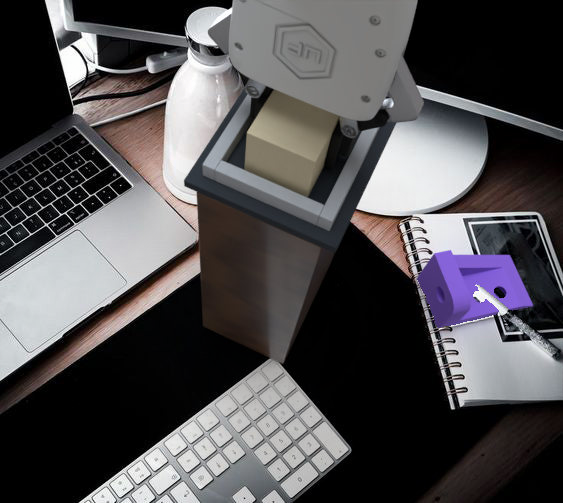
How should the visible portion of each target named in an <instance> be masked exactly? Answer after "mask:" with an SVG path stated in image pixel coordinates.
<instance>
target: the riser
mask: <svg viewBox="0 0 563 503" xmlns="http://www.w3.org/2000/svg"><path fill="white" fill-rule="evenodd" d="M196 208H197V209H196V210H197V228H198V230H197V232H198V248H199V249H198V252H199V269H200V270H199V272H200V289H201V290H200V291H201V292H200V293H201V312H202V314H201V315H202V327H204V328H206V329H207V330H210V331H212V332H214V333H216V334H219V335H221V336H223V337H225V338H226V339H229V340H231V341H233V342H235V343H237V344H240V345H241V346H244V347H246V348H248V349H250V350H252V351H255V352H256V353H259V354H261V355H263V356H265V357H267V358H269V359H271V360H273V361H275V362H278V363H279V364H281V365H284V364H285V362H286V359H287V358H288V355H289V353H290V351H291V349H292V347H293V345H294V342H295V341H296V339H297V336H298V334H299V332H300V330H301V327H303V326H302V325H303V323H304V322H305V319H306V317H307V315H308V313H309V311H310V309H311V306H312V304H313V302H314V300H315V298H316V296H317V294H318V292H319V289H320V287H321V285H322V283H323V281H324V279H325V277H326V274H327V273H328V270H329V268H330V265H331V264H332V261H333V258H334V256H335V253H333V252H331V251H329V250H326V249H324V248H322V247H320V246H317V245H315V244H313V243H311V242H308V241H306V240H304V239H302V238H299V237H297V236H295V235H293V234H291V233H288V232H286V231H284V230H282V229H279V228H277V227H275V226H273V225H270V224H268V223H266V222H264V221H261V220H259V219H257V218H255V217H252V216H250V215H248V214H246V213H243V212H241V211H239V210H237V209H234V208H232V207H230V206H228V205H225V204H223V203H221V202H219V201H216V200H214V199H212V198H210V197H208V196H205V195H203V194H201V193H199V192H196Z"/></svg>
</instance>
